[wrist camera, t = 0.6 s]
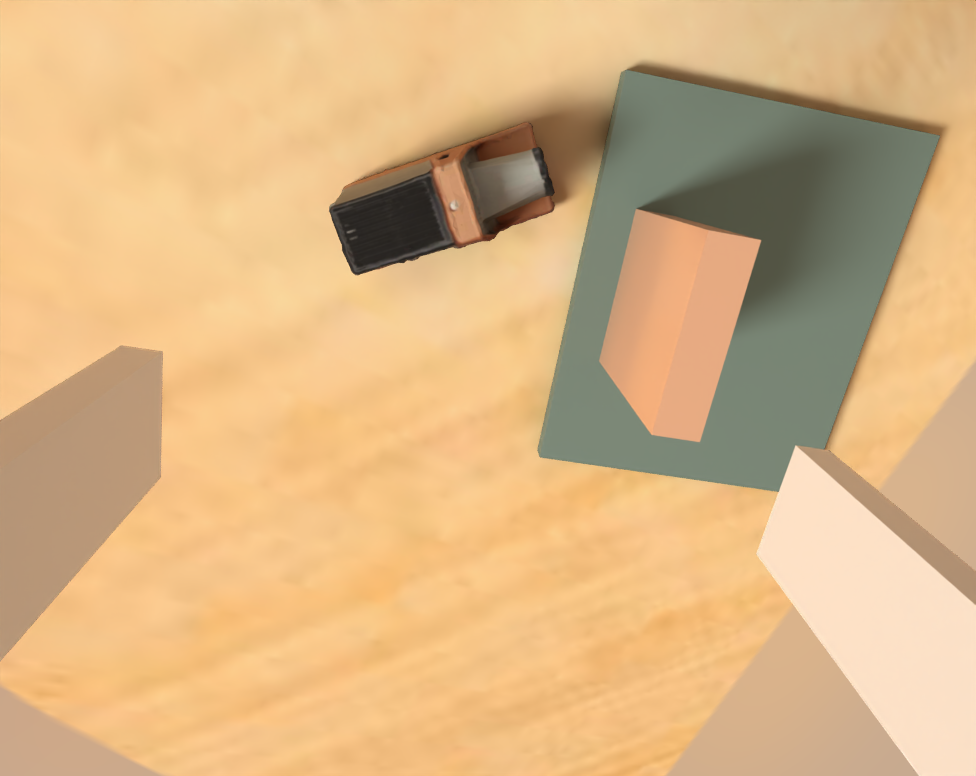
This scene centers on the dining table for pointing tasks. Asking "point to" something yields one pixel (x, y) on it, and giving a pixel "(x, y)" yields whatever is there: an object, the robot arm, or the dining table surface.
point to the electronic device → (443, 200)
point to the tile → (675, 319)
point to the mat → (774, 278)
